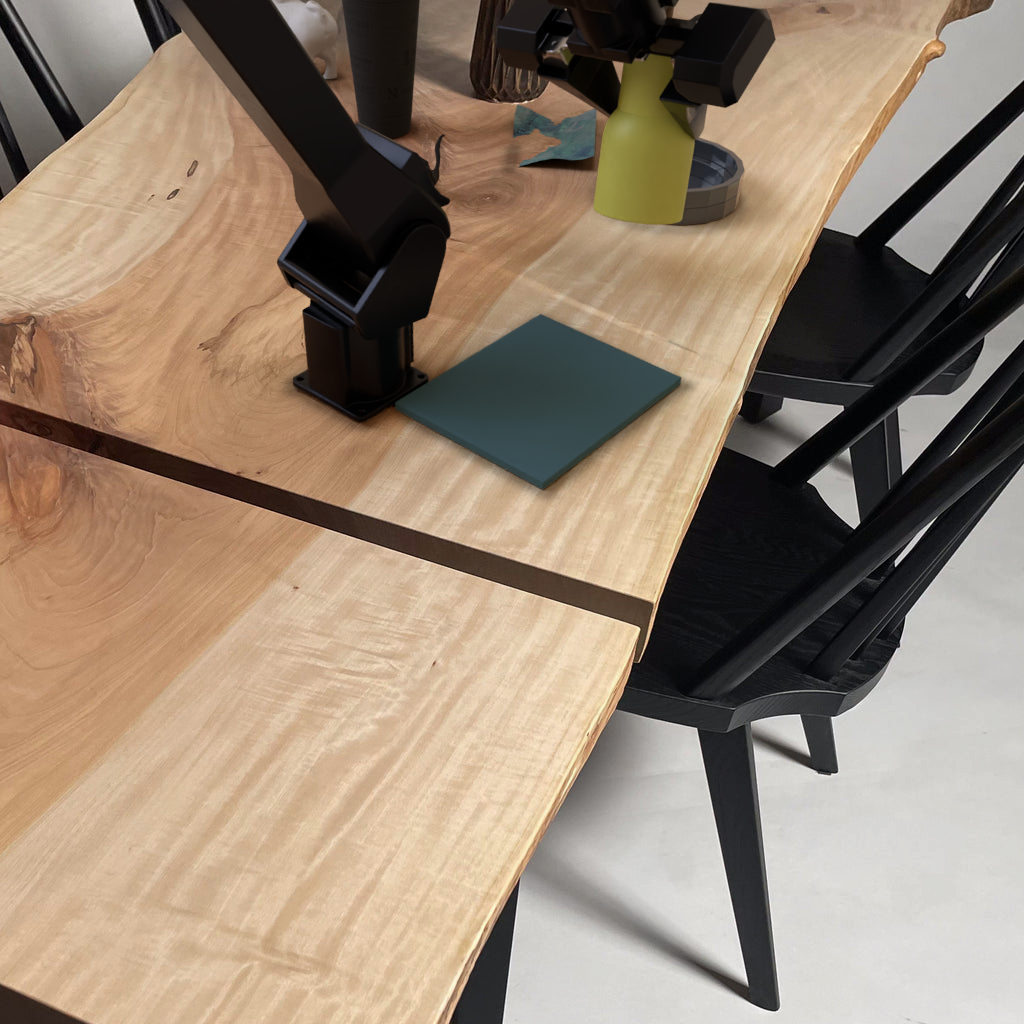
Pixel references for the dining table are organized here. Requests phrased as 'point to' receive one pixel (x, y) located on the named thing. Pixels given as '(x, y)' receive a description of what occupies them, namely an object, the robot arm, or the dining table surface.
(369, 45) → the drinking cup
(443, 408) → the mat
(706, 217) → the bowl
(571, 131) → the teal flat jagged piece
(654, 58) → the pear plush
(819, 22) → the dining table surface
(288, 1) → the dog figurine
